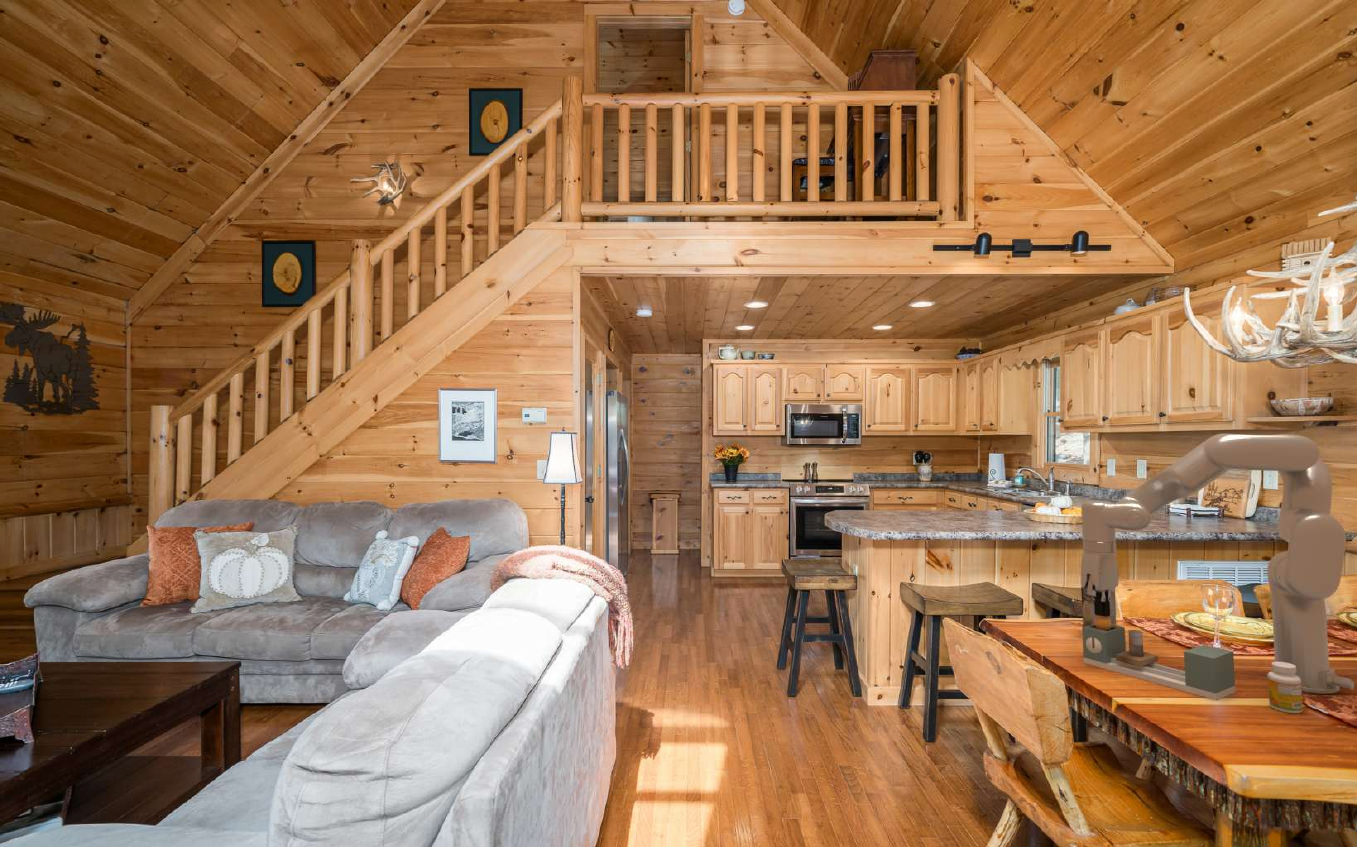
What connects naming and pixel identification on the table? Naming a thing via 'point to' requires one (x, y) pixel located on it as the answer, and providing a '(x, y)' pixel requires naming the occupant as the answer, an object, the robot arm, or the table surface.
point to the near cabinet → (1209, 668)
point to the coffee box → (1089, 608)
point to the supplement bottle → (1285, 688)
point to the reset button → (1103, 623)
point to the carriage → (1136, 651)
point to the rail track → (1158, 676)
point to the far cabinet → (1103, 643)
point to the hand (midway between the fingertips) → (1102, 615)
